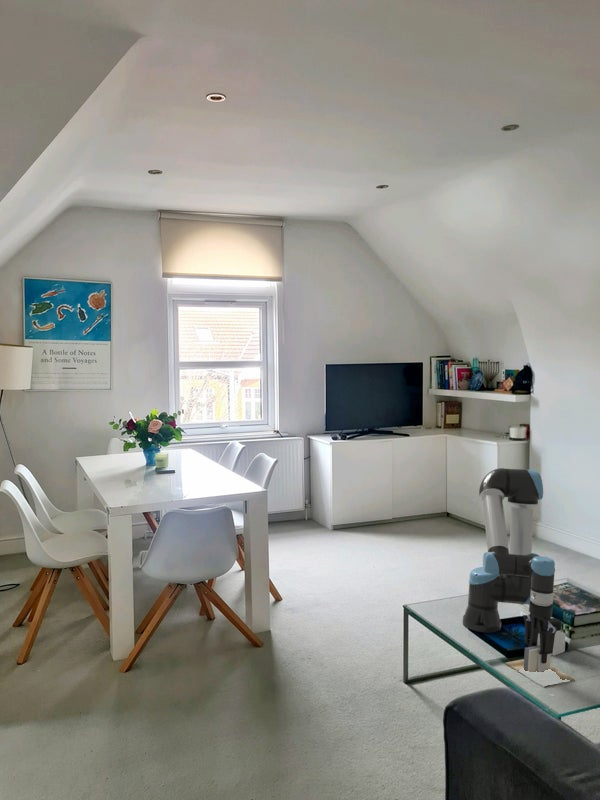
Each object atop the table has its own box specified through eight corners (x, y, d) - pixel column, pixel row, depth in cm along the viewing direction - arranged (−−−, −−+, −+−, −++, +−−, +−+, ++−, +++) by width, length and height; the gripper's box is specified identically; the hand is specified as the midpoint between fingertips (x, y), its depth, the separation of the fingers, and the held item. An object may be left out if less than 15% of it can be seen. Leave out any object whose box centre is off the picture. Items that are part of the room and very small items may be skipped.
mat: (505, 664, 229) (505, 662, 229) (534, 658, 235) (534, 656, 235) (543, 687, 213) (543, 686, 213) (574, 680, 219) (574, 679, 219)
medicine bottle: (564, 652, 242) (566, 620, 241) (553, 656, 238) (555, 624, 237) (548, 645, 248) (549, 614, 247) (536, 649, 244) (538, 617, 243)
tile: (523, 670, 224) (524, 647, 224) (544, 666, 228) (546, 643, 228) (528, 673, 222) (529, 650, 221) (550, 669, 226) (551, 646, 226)
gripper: (516, 596, 230) (512, 661, 230) (550, 611, 215) (546, 681, 216) (532, 593, 233) (528, 658, 234) (567, 609, 218) (563, 677, 219)
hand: (537, 669), depth 225 cm, fingers open, 3 cm apart
